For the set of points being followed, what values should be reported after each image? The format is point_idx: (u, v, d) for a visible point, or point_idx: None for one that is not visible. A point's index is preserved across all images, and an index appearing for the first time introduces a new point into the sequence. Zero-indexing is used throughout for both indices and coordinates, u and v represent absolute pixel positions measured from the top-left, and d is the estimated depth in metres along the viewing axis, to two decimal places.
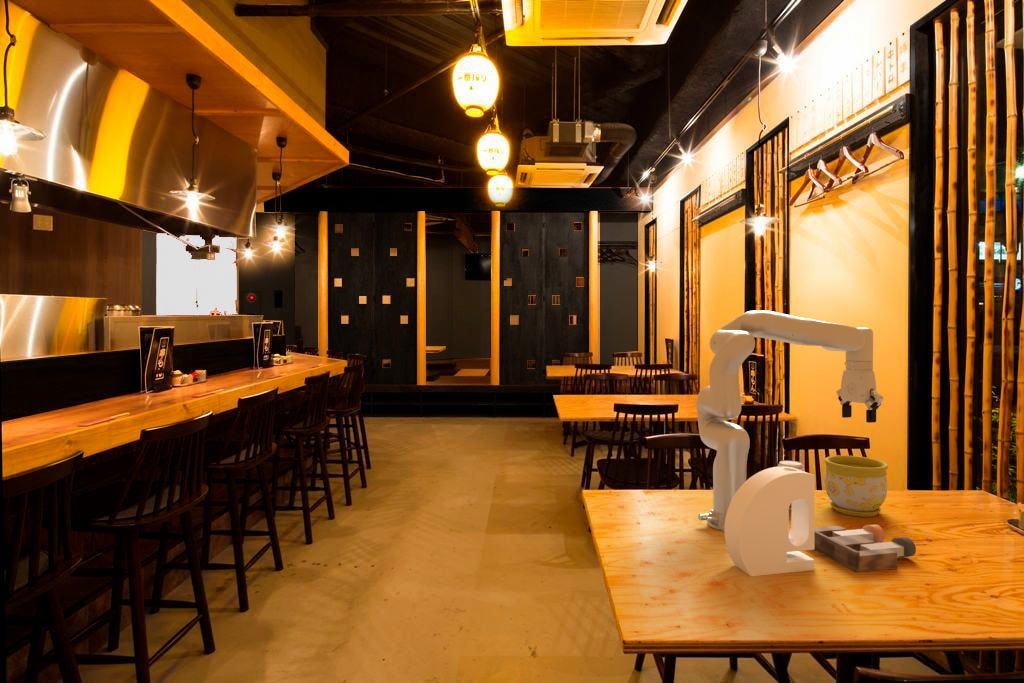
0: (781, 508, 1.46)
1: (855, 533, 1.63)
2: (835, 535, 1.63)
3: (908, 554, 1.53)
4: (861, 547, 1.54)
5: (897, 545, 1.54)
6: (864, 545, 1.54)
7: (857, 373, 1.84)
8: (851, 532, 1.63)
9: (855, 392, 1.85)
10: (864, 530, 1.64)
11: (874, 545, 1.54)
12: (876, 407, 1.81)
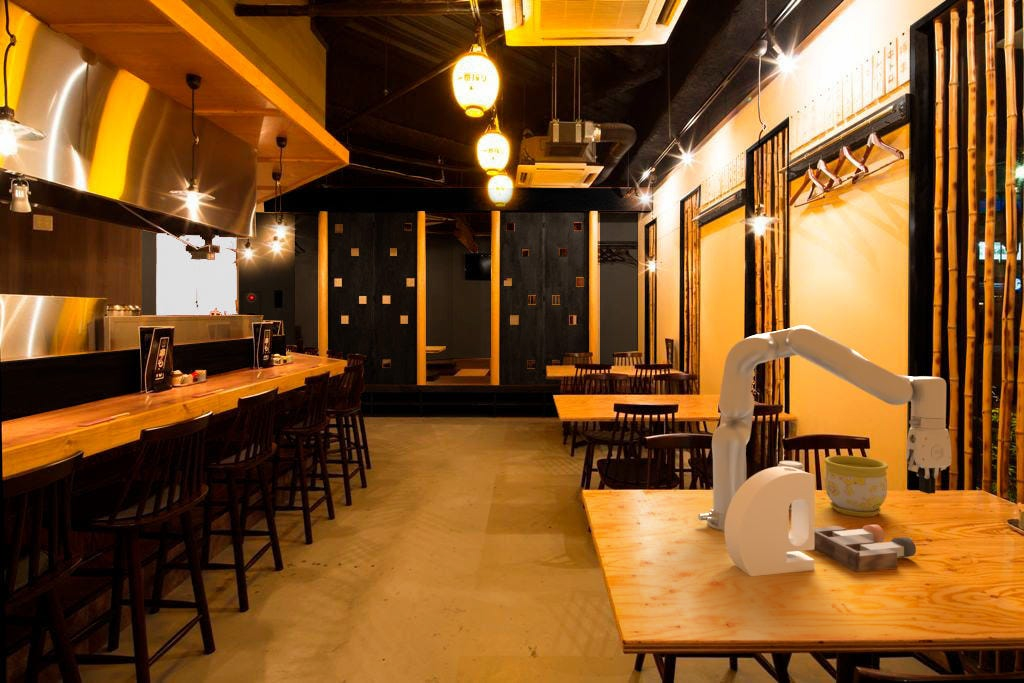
0: (781, 508, 1.46)
1: (855, 533, 1.63)
2: (835, 535, 1.63)
3: (908, 554, 1.53)
4: (861, 547, 1.54)
5: (897, 545, 1.54)
6: (864, 545, 1.54)
7: (943, 432, 1.53)
8: (851, 532, 1.63)
9: (942, 455, 1.53)
10: (864, 530, 1.64)
11: (874, 545, 1.54)
12: None
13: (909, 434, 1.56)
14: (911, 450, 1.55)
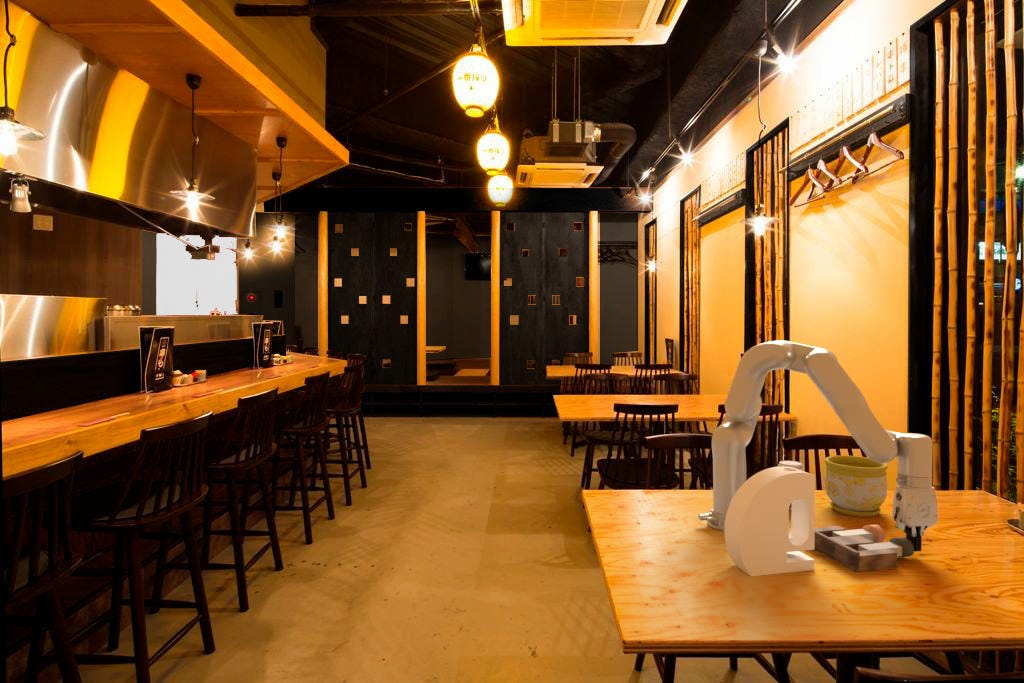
0: (781, 508, 1.46)
1: (855, 533, 1.63)
2: (835, 535, 1.63)
3: (906, 554, 1.53)
4: (859, 547, 1.54)
5: (895, 545, 1.54)
6: (862, 545, 1.54)
7: (930, 491, 1.53)
8: (851, 532, 1.63)
9: (928, 514, 1.53)
10: (864, 530, 1.64)
11: (872, 545, 1.54)
12: None
13: (896, 491, 1.55)
14: (898, 508, 1.55)
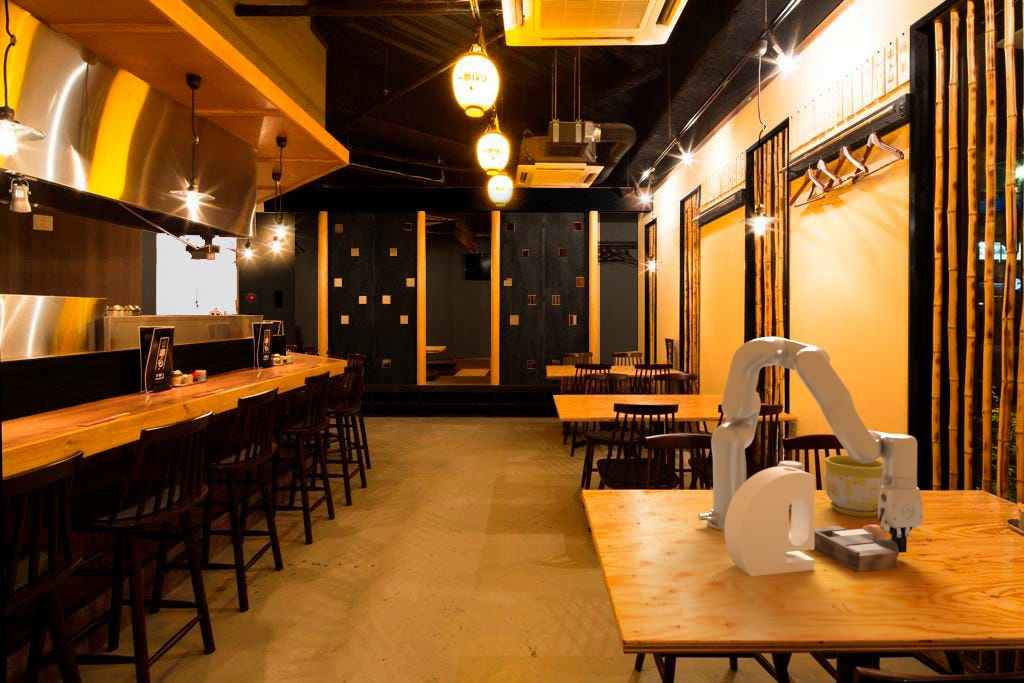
0: (781, 508, 1.46)
1: (855, 533, 1.63)
2: (835, 535, 1.63)
3: None
4: None
5: (880, 547, 1.53)
6: None
7: (915, 491, 1.52)
8: (851, 532, 1.63)
9: (913, 515, 1.52)
10: (864, 530, 1.64)
11: (857, 547, 1.53)
12: None
13: (880, 492, 1.54)
14: (882, 509, 1.54)
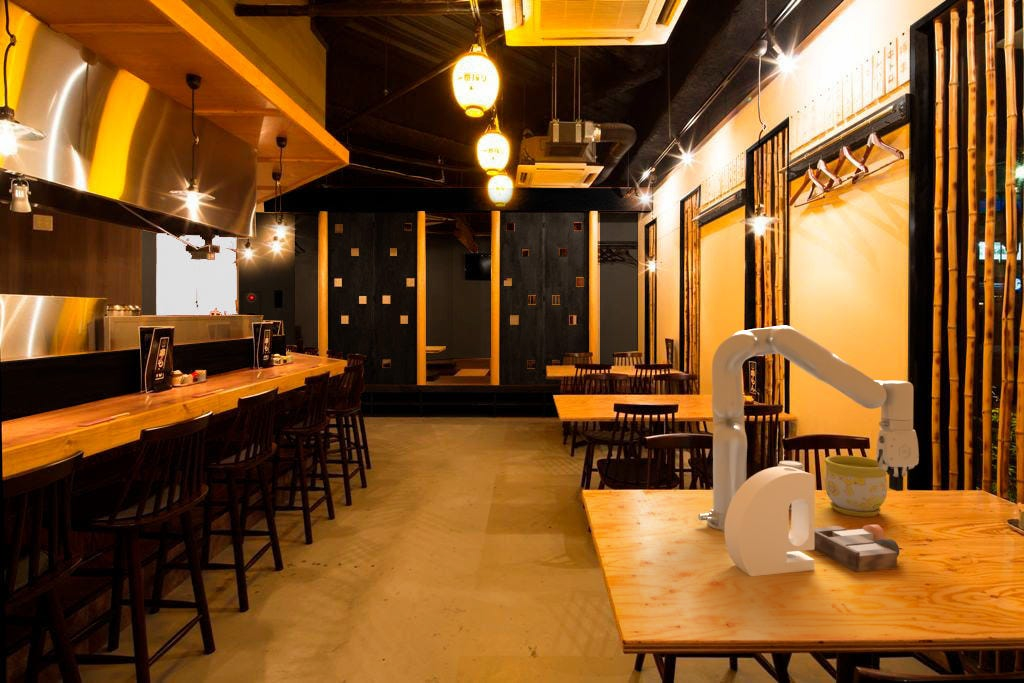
0: (781, 508, 1.46)
1: (855, 533, 1.63)
2: (835, 535, 1.63)
3: None
4: None
5: (880, 546, 1.53)
6: None
7: (911, 433, 1.63)
8: (851, 532, 1.63)
9: (909, 455, 1.62)
10: (864, 530, 1.64)
11: (857, 547, 1.53)
12: None
13: (879, 435, 1.65)
14: (881, 450, 1.65)
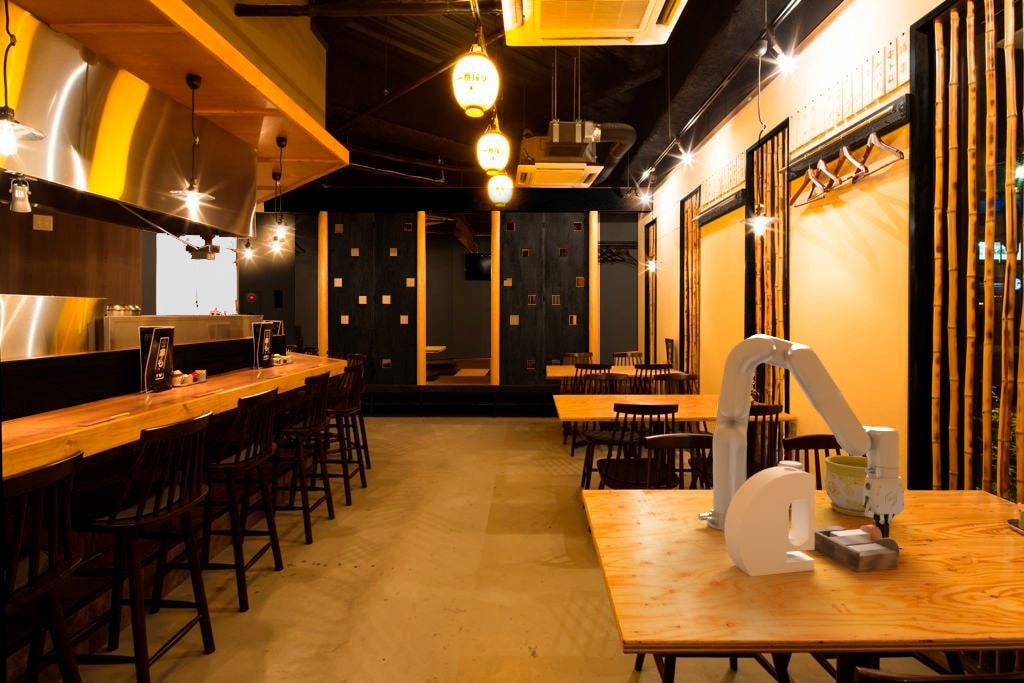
0: (781, 508, 1.46)
1: (853, 533, 1.62)
2: (832, 535, 1.63)
3: None
4: None
5: (880, 546, 1.53)
6: None
7: (897, 481, 1.63)
8: (848, 532, 1.63)
9: (895, 502, 1.63)
10: (861, 531, 1.64)
11: (857, 547, 1.53)
12: None
13: (865, 481, 1.65)
14: (867, 497, 1.65)
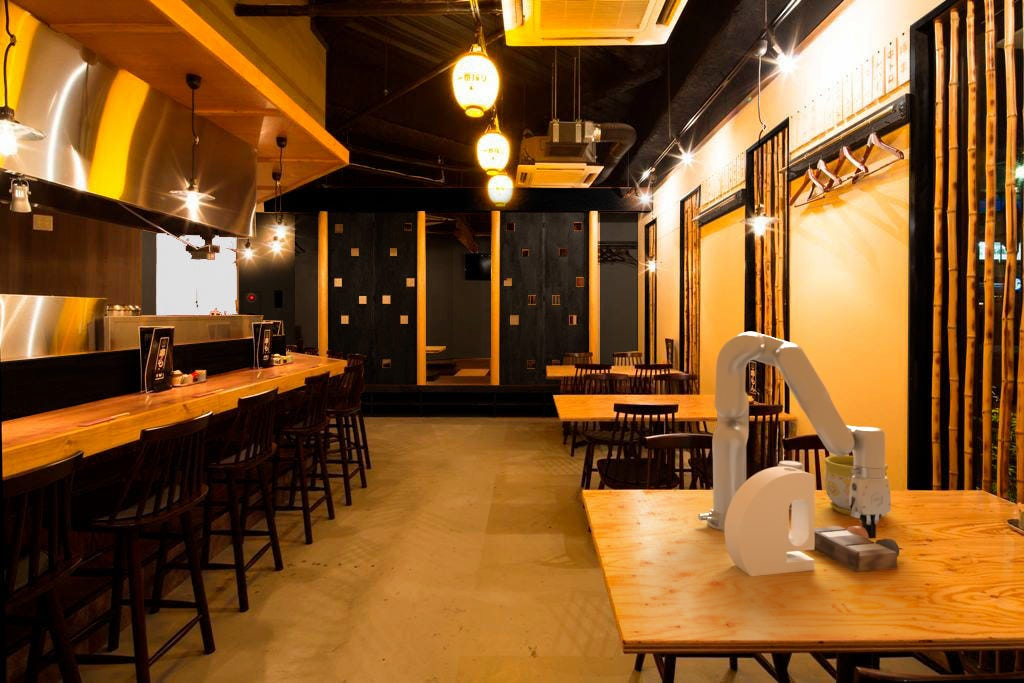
0: (781, 508, 1.46)
1: (839, 534, 1.62)
2: None
3: None
4: None
5: (880, 546, 1.53)
6: None
7: (883, 481, 1.62)
8: (835, 533, 1.62)
9: (881, 503, 1.62)
10: (848, 532, 1.63)
11: (857, 547, 1.53)
12: None
13: (851, 482, 1.64)
14: (853, 497, 1.64)
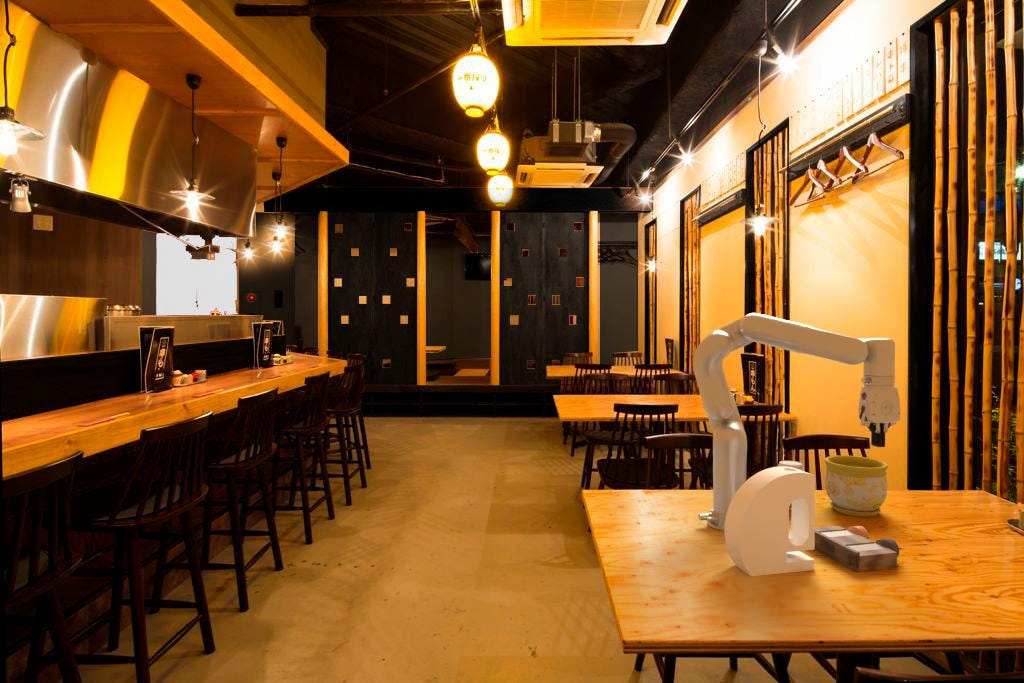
0: (781, 508, 1.46)
1: (839, 534, 1.62)
2: None
3: None
4: None
5: (880, 546, 1.53)
6: None
7: (893, 389, 1.64)
8: (835, 533, 1.62)
9: (891, 411, 1.64)
10: (848, 532, 1.64)
11: (857, 547, 1.53)
12: None
13: (861, 392, 1.66)
14: (863, 407, 1.66)
